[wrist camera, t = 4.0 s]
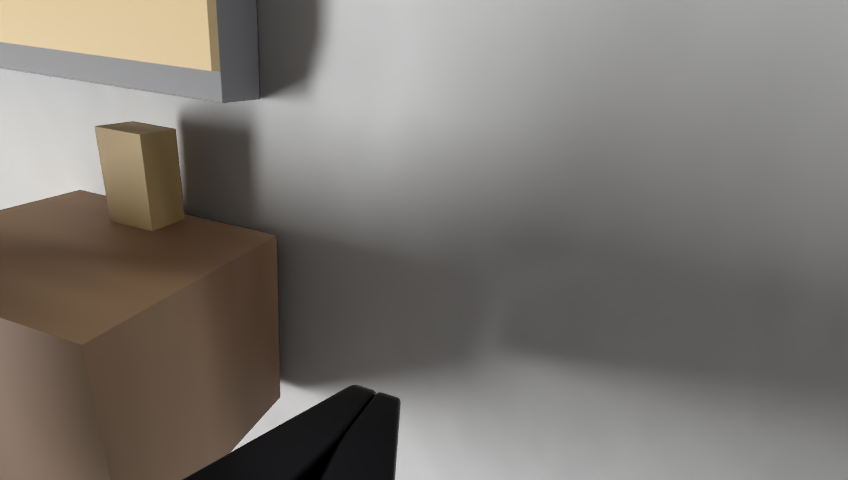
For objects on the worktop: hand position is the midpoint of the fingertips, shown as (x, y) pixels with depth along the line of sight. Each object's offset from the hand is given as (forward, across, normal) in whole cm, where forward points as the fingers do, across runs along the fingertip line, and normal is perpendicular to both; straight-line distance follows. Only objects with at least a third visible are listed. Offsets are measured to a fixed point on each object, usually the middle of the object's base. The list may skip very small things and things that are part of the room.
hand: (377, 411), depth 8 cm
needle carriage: (+2, +5, 0) cm, 6 cm away
